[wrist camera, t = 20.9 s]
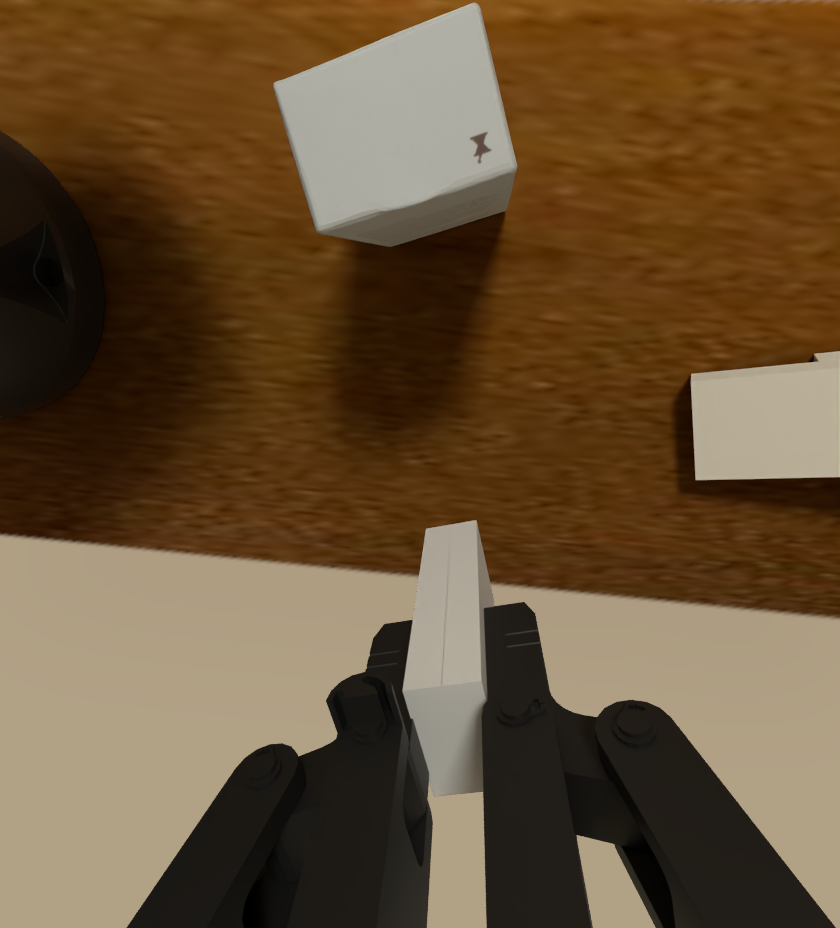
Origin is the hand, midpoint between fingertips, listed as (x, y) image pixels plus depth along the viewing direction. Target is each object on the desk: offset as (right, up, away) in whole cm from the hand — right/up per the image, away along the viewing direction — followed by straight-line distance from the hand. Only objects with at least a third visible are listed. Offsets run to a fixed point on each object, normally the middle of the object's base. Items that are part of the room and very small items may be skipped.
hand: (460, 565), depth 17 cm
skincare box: (-1, +16, +10) cm, 19 cm away
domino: (+12, +5, +11) cm, 17 cm away
